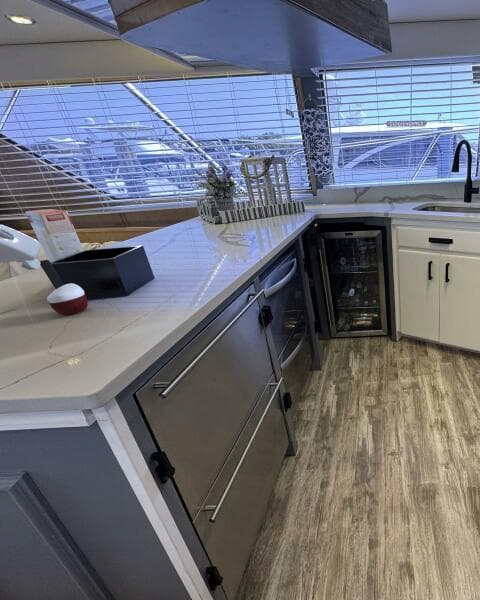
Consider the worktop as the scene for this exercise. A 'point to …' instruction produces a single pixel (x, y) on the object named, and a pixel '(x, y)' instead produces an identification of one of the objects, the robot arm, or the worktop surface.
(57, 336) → the worktop surface
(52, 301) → the red white rounded piece
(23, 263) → the robot arm
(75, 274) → the black open box
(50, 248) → the cracker box
